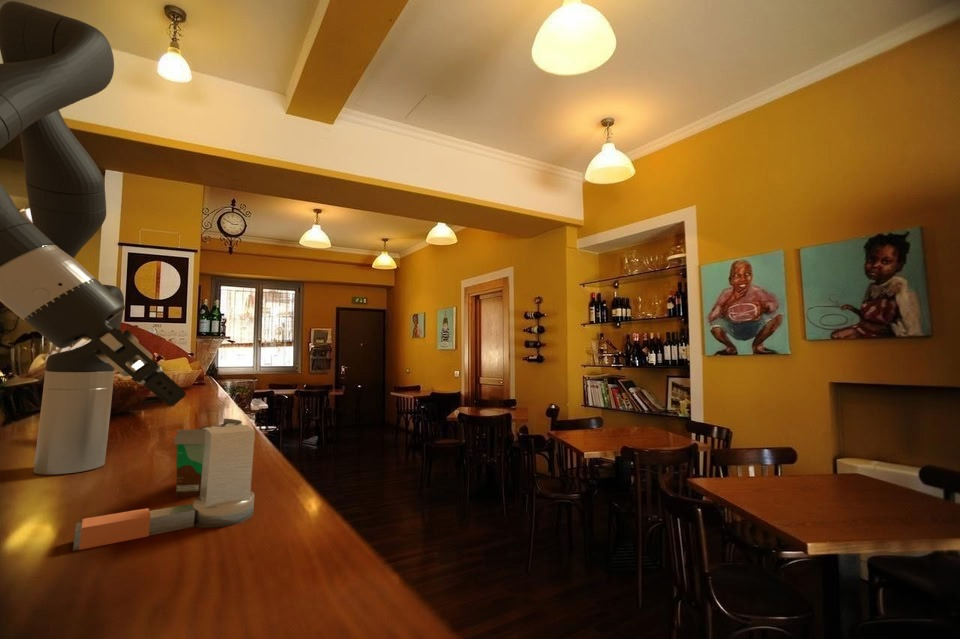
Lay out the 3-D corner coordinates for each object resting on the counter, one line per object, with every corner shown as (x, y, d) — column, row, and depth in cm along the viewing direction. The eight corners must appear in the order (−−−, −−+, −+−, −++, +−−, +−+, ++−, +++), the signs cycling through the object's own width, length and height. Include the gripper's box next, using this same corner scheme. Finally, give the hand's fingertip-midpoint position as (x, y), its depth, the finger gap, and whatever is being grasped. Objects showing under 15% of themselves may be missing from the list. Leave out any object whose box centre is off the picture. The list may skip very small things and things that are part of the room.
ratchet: (75, 535, 50) (80, 486, 51) (246, 504, 62) (249, 465, 62) (71, 557, 45) (77, 503, 45) (259, 519, 57) (262, 476, 57)
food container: (210, 501, 62) (216, 431, 63) (168, 499, 63) (175, 430, 63) (255, 477, 75) (260, 419, 76) (221, 476, 75) (226, 418, 76)
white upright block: (199, 496, 57) (205, 427, 58) (241, 489, 61) (246, 425, 61) (205, 507, 54) (211, 433, 54) (249, 499, 57) (255, 430, 57)
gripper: (91, 268, 44) (211, 379, 51) (95, 282, 55) (193, 372, 61) (9, 315, 40) (150, 429, 47) (30, 320, 51) (143, 412, 57)
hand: (175, 396), depth 54 cm, fingers open, 8 cm apart
